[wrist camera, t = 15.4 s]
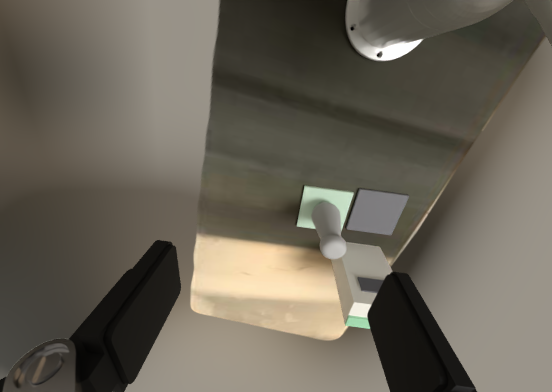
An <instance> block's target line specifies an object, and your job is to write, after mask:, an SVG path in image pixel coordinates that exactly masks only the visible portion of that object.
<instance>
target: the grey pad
mask: <svg viewBox="0 0 552 392" xmlns="http://www.w3.org/2000/svg"><path fill="white" fill-rule="evenodd" d="M408 198H409V195H407V194H399V193H392V192H385V191H377V190H370V189H362V188H359V190H358V193H357V196H356V199H355V202H354V205H353V208H352V211H351V214H350V217H349V220H348V223H347V226H346V229H349V230H356V231H363V232H371V233H378V234H386V235H391V234H392V232H393V230H394V228H395V226H396V224H397V221H398V219H399V217H400V215H401V213H402V211H403V209H404V206H405V204H406V202H407V200H408Z"/></svg>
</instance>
